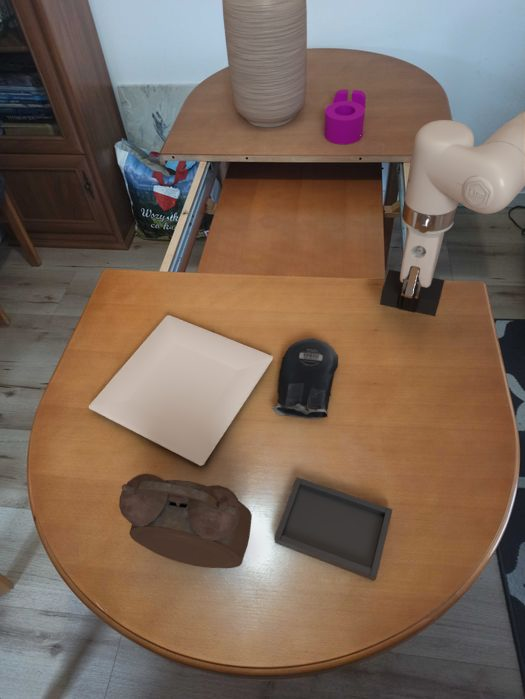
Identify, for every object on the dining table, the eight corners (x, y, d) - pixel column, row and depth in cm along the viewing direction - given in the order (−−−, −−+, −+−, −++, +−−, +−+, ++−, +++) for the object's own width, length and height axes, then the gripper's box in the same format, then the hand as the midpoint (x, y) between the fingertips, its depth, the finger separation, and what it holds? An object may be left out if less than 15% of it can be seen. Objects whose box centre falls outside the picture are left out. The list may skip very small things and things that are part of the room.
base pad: (390, 514, 68) (392, 509, 66) (374, 581, 63) (376, 577, 61) (296, 482, 72) (296, 476, 70) (274, 543, 67) (274, 538, 65)
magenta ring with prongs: (360, 145, 126) (362, 121, 121) (321, 143, 128) (322, 119, 123) (367, 114, 135) (369, 90, 130) (331, 112, 137) (332, 89, 132)
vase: (253, 93, 147) (242, -48, 121) (317, 103, 141) (320, -43, 114) (221, 126, 136) (202, -20, 110) (289, 138, 130) (285, -14, 104)
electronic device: (333, 426, 79) (341, 345, 86) (329, 412, 74) (337, 327, 81) (276, 422, 81) (288, 343, 88) (269, 408, 77) (282, 327, 84)
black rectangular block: (440, 294, 87) (444, 279, 85) (435, 316, 84) (439, 302, 82) (386, 283, 90) (389, 269, 87) (379, 304, 87) (381, 290, 84)
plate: (274, 363, 85) (274, 355, 84) (204, 471, 74) (201, 465, 72) (169, 320, 93) (167, 313, 91) (91, 413, 82) (86, 406, 80)
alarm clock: (260, 526, 68) (247, 463, 53) (248, 582, 64) (230, 532, 48) (161, 507, 71) (120, 442, 55) (143, 560, 67) (93, 505, 51)
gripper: (446, 252, 67) (423, 338, 81) (463, 181, 76) (440, 269, 91) (390, 242, 69) (377, 327, 83) (414, 175, 79) (399, 261, 93)
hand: (410, 296), depth 87 cm, fingers closed on black rectangular block, 5 cm apart
